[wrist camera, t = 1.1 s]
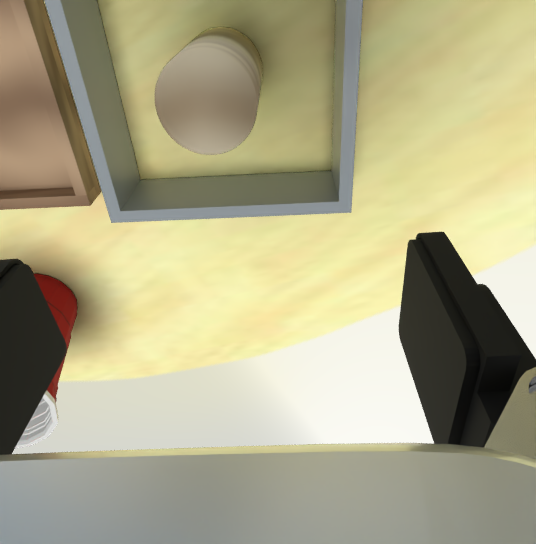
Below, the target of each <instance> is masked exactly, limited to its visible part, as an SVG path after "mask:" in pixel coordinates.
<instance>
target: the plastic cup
mask: <svg viewBox="0 0 536 544" xmlns="http://www.w3.org/2000/svg"><path fill="white" fill-rule="evenodd" d="M34 276H35V278H36V280H37V282H38V284H39V287H40V289H41V291H42V293H43V295H44V297H45V299H46V301H47V303H48V306H49V308H50V310H51V312H52V314H53V316H54V318H55V320H56V322H57V325H58V327H59V329H60V331H61V333H62V335H63V337H64V339H65V342H66V345H67V349H68V346H69V342H70V339H71V331H72V328H73V325H74V322H75V319H76V316H77V299H76V298H75V296H74V294H73V293H72V291H71V290H70V289H69V288H68V287H67V286H66V285H65V284H63V283H62V282H61V281H59V280H57V279H55V278H52V277H50V276H47V275H41V274H34ZM66 353H67V352H66ZM65 356H66V355H65ZM64 360H65V358H64V359H63V361H62V363H61V365H60V367H59V369H58V370H57V372H56V374H55V376H54V378H53V379H52V381H51V383H50V385H49V387H48V389H47V390H46V392H45V394H44V396H43V398H42V400H41V401H40V403H39V405H38V407H37V409H36V410H35V412H34V414H33V416H32V418H31V420H30V421H29V423H28V425H27V427H26V429H25V430H24V432H23V434H22V436H21V438H20V440H19V441H18V443H17V445H16V447H15V448H21V447H27V446H32V445H34V444H35V443H37V442H40V441H42V440H44V439H46V438H48V437H49V436H50V435H51V433H52V431H53V430H54V428H55V426H56V425H57V423H58V414H57V408H56V394H57V390H58V381H59V378H60V374H61V371H62V367H63V364H64Z"/></svg>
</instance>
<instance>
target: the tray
mask: <svg viewBox="0 0 536 544" xmlns="http://www.w3.org/2000/svg"><path fill="white" fill-rule="evenodd" d="M100 193H101V190H100V186H99V183H98V180H97V177H96V173H95V170H94V167H93V163H92V160H91V157H90V153H89V150H88V147H87V144H86V140H85V137H84V134H83V130H82V127H81V124H80V120H79V117H78V114H77V111H76V107H75V104H74V101H73V97H72V94H71V91H70V87H69V84H68V81H67V78H66V74H65V71H64V68H63V64H62V61H61V58H60V54H59V51H58V48H57V45H56V41H55V38H54V35H53V31H52V28H51V25H50V21H49V18H48V15H47V12H46V8H45V5H44V2H43V0H0V210H4V209H26V208H48V207H71V206H90V205H91V204H92V203H93V201H94V200H95V199H96V198H97V196H98V195H99V194H100Z"/></svg>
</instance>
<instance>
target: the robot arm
mask: <svg viewBox="0 0 536 544" xmlns="http://www.w3.org/2000/svg"><path fill="white" fill-rule="evenodd" d="M399 335H400V340H401V343H402V346H403V349H404V352H405V355H406V358H407V362H408V365H409V367H410V371H411V374H412V377H413V380H414V383H415V386H416V389H417V392H418V395H419V398H420V401H421V404H422V407H423V410H424V413H425V416H426V419H427V422H428V425H429V428H430V431H431V435H432V438H433V441H434V444H427V443H426V444H424V443H371V444H370V443H367V444H365V443H364V444H308V445H273V446H238V447H204V448H174V449H145V450H116V451H115V450H114V451H86V452H58V453H33V454H12V452H13V450H14V449H15V447H16V445H17V443H18V441H19V440H20V438H21V436H22V434H23V432H24V430H25V429H26V427H27V425H28V423H29V421H30V420H31V418H32V416H33V414H34V412H35V410H36V409H37V407H38V405H39V403H40V401H41V400H42V398H43V396H44V394H45V392H46V390H47V389H48V387H49V385H50V383H51V381H52V379H53V378H54V376H55V374H56V372H57V370H58V369H59V367H60V365H61V363H62V361H63V359H64V358H65V355H66V352H67V345H66V342H65V339H64V337H63V335H62V333H61V331H60V329H59V327H58V325H57V322H56V320H55V318H54V316H53V314H52V312H51V310H50V308H49V306H48V303H47V301H46V299H45V297H44V295H43V293H42V291H41V289H40V287H39V284H38V282H37V280H36V278H35V276H34V274H33V272H32V270H31V268H30V267H29V266H28V265H26V264H24V263H23V262H22V261H21V260H19V259H8V260H0V544H536V359H535V357H534V356H533V354H532V353H531V351H530V350H529V348H528V347H527V345H526V344H525V342H524V341H523V339H522V338H521V336H520V335H519V333H518V332H517V330H516V329H515V327H514V326H513V324H512V323H511V321H510V320H509V318H508V316H507V315H506V313H505V312H504V310H503V309H502V307H501V306H500V304H499V303H498V301H497V300H496V299H495V297H494V295H493V294H492V292H491V291H490V289H489V288H488V287H487V286H486V285H483V284H477V283H476V282H475V280H474V278H473V277H472V275H471V274H470V272H469V270H468V269H467V267H466V266H465V264H464V263H463V261H462V259H461V258H460V256H459V255H458V253H457V251H456V250H455V248H454V247H453V245H452V243H451V242H450V240H449V239H448V237H447V236H446V234H445V233H444V232H431V233H418V234H417V237H416V240H409V242H408V248H407V257H406V266H405V275H404V284H403V293H402V302H401V312H400V320H399Z"/></svg>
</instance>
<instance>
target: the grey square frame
mask: <svg viewBox="0 0 536 544" xmlns="http://www.w3.org/2000/svg"><path fill="white" fill-rule="evenodd" d="M44 1H45V4H46V8H47V11H48V14H49V17H50V21H51V24H52V27H53V31H54V34H55V37H56V41H57V44H58V47H59V51H60V54H61V57H62V61H63V64H64V67H65V70H66V74H67V77H68V80H69V84H70V87H71V90H72V94H73V97H74V100H75V104H76V107H77V110H78V114H79V117H80V120H81V124H82V127H83V130H84V133H85V137H86V140H87V143H88V147H89V150H90V153H91V157H92V160H93V163H94V167H95V170H96V173H97V177H98V180H99V183H100V187H101V190H102V193H103V196H104V200H105V203H106V206H107V210H108V213H109V216H110V220H111V223H116V222H140V221H163V220H187V219H210V218H234V217H257V216H281V215H304V214H328V213H351V207H352V189H353V171H354V153H355V134H356V116H357V98H358V80H359V61H360V43H361V25H362V7H363V0H336V4H335V45H334V86H333V127H332V168H331V171H314V172H293V173H272V174H251V175H230V176H209V177H188V178H167V179H146V180H140V176H139V172H138V167H137V163H136V159H135V155H134V151H133V147H132V143H131V139H130V134H129V130H128V126H127V122H126V118H125V114H124V110H123V106H122V102H121V97H120V93H119V89H118V85H117V81H116V77H115V73H114V69H113V64H112V60H111V56H110V52H109V48H108V44H107V40H106V36H105V31H104V27H103V23H102V19H101V15H100V11H99V7H98V3H97V0H44Z"/></svg>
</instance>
